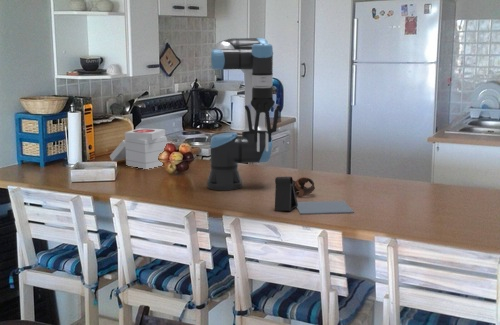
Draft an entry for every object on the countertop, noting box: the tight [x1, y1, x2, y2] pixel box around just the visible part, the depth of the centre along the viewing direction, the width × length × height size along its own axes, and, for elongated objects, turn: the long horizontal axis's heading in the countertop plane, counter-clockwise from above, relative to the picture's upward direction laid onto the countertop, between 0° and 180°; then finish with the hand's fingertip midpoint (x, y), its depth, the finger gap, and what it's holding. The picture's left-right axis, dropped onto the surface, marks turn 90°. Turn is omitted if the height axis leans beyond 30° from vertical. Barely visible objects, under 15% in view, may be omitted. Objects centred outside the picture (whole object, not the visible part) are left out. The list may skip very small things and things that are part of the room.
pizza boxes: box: [109, 127, 168, 170], centre depth 321 cm, size 19×30×18 cm, turn 51°
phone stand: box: [274, 176, 298, 212], centre depth 235 cm, size 9×6×12 cm, turn 155°
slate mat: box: [295, 200, 355, 215], centre depth 237 cm, size 20×16×1 cm
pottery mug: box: [293, 176, 316, 198], centre depth 257 cm, size 12×10×8 cm
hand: (262, 150), depth 231 cm, fingers open, 3 cm apart
